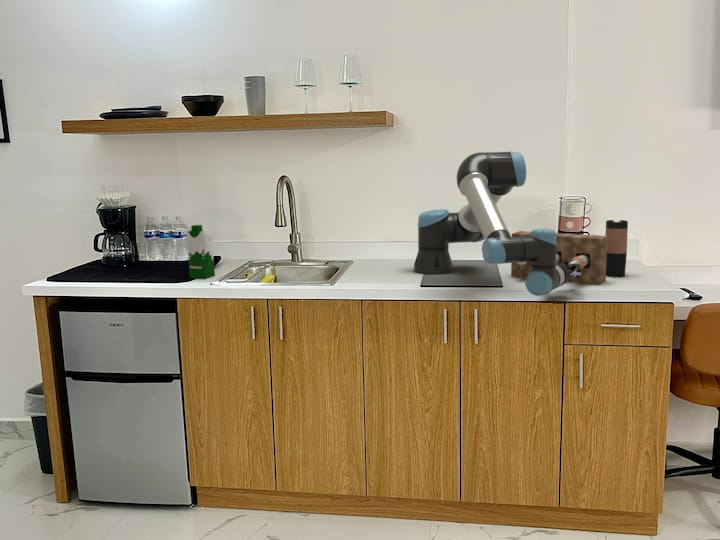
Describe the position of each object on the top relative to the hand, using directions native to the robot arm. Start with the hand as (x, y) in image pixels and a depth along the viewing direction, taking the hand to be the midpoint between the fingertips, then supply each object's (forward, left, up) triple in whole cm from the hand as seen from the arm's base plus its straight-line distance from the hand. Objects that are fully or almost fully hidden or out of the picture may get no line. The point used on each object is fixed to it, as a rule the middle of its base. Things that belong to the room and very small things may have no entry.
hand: (576, 264), depth 249 cm
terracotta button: (0, +5, -2) cm, 5 cm away
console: (-10, +12, -8) cm, 17 cm away
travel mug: (+6, +28, -8) cm, 29 cm away
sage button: (-10, +5, -2) cm, 12 cm away
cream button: (-20, +5, -2) cm, 21 cm away
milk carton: (-129, -46, -8) cm, 138 cm away
